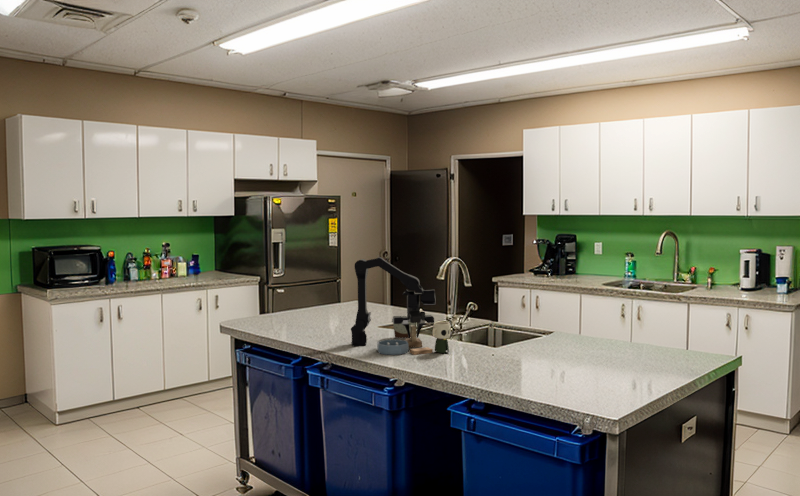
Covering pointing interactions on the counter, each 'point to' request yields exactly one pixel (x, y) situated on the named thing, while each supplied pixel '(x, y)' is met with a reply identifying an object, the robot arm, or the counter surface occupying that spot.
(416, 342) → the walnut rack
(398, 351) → the blue octagonal bowl
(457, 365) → the counter surface
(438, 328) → the character mug
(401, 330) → the food container
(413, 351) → the tapered wooden plank
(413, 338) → the bar
